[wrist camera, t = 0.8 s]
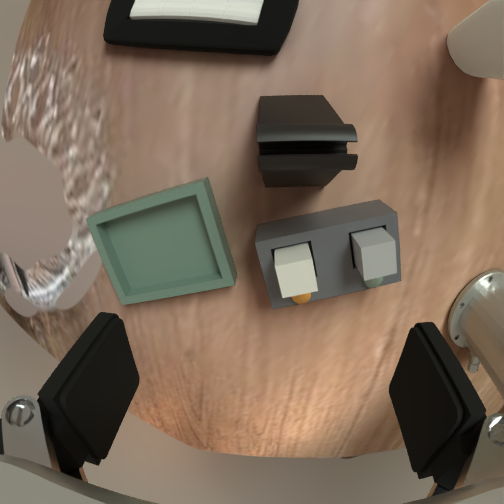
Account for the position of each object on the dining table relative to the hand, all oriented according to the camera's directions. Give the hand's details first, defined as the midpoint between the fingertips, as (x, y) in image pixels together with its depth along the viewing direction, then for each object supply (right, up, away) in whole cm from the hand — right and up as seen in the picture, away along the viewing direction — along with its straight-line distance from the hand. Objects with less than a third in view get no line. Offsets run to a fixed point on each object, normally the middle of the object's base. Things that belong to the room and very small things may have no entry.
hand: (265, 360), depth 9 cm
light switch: (-6, +29, +13) cm, 33 cm away
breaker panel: (+7, +4, +22) cm, 24 cm away
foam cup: (+24, +26, +12) cm, 37 cm away
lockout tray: (-10, +4, +24) cm, 26 cm away
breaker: (+10, +4, +17) cm, 21 cm away
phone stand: (+4, +14, +19) cm, 24 cm away
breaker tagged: (+3, +3, +19) cm, 19 cm away
